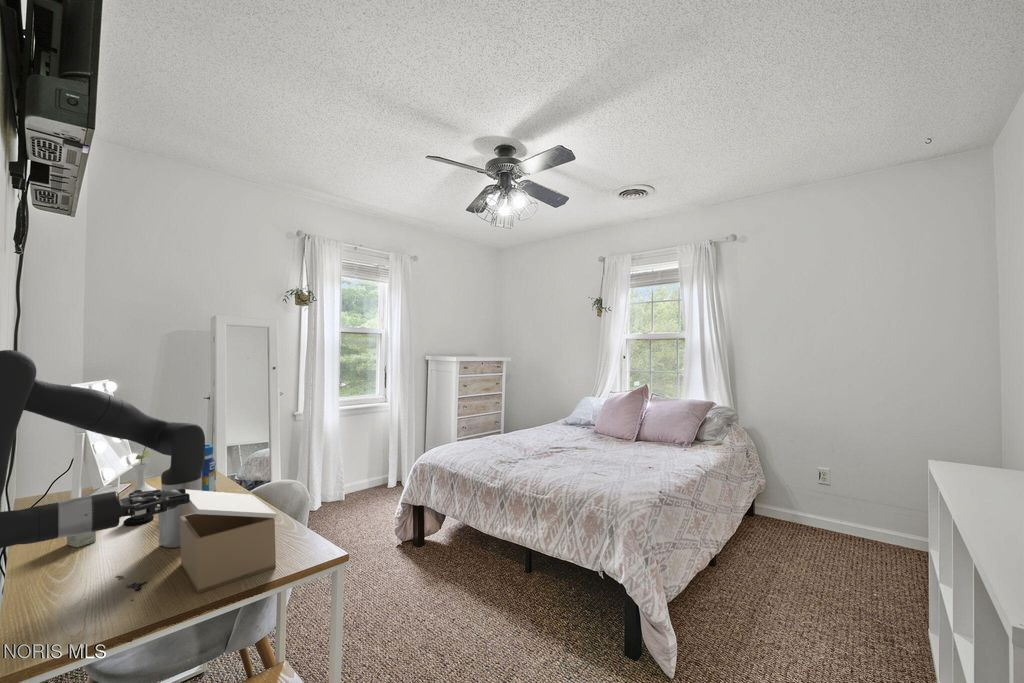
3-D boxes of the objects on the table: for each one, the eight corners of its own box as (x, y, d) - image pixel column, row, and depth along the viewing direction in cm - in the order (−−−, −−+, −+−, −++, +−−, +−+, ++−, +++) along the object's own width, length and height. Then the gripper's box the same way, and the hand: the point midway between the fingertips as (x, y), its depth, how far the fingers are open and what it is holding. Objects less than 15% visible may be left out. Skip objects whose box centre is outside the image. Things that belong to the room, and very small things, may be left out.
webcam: (156, 521, 145) (155, 489, 145) (125, 528, 139) (124, 496, 139) (150, 515, 150) (150, 484, 150) (121, 522, 144) (120, 490, 144)
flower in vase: (144, 507, 157) (142, 434, 157) (111, 508, 157) (109, 435, 157) (173, 494, 170) (171, 427, 170) (142, 495, 170) (140, 428, 170)
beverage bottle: (182, 506, 158) (181, 448, 158) (208, 498, 165) (207, 442, 165) (196, 510, 154) (195, 450, 154) (222, 501, 161) (220, 445, 161)
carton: (198, 593, 101) (196, 539, 101) (181, 563, 116) (179, 516, 116) (275, 567, 113) (274, 518, 113) (251, 543, 127) (250, 499, 127)
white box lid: (163, 520, 97) (170, 499, 98) (149, 498, 112) (156, 479, 113) (273, 525, 112) (279, 506, 113) (248, 504, 127) (253, 488, 128)
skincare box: (96, 541, 130) (95, 498, 130) (77, 548, 126) (75, 504, 126) (85, 538, 133) (83, 496, 133) (65, 544, 129) (64, 501, 129)
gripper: (90, 504, 91) (193, 485, 103) (87, 488, 102) (181, 473, 114) (90, 542, 91) (193, 519, 103) (87, 522, 102) (181, 503, 114)
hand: (186, 495), depth 108 cm, fingers closed on white box lid, 4 cm apart
